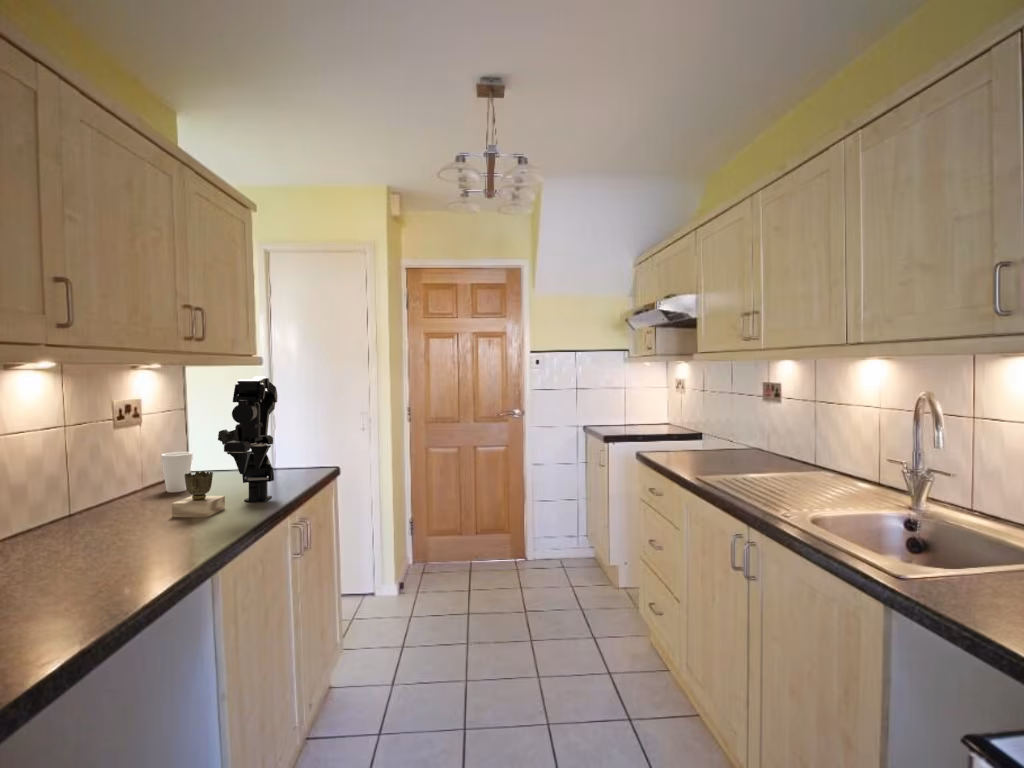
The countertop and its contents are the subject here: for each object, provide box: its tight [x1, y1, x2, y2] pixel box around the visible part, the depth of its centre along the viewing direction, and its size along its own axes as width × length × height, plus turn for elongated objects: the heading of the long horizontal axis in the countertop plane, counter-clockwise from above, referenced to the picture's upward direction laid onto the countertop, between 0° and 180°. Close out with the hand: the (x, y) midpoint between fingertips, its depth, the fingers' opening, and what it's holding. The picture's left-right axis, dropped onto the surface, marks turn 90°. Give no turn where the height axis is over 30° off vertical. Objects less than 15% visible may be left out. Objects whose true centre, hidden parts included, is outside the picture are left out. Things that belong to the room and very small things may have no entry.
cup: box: [184, 470, 214, 501], centre depth 163 cm, size 8×7×8 cm
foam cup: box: [160, 451, 194, 493], centre depth 193 cm, size 10×9×13 cm
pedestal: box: [171, 495, 226, 518], centre depth 163 cm, size 10×10×4 cm
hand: (249, 471), depth 167 cm, fingers open, 9 cm apart
